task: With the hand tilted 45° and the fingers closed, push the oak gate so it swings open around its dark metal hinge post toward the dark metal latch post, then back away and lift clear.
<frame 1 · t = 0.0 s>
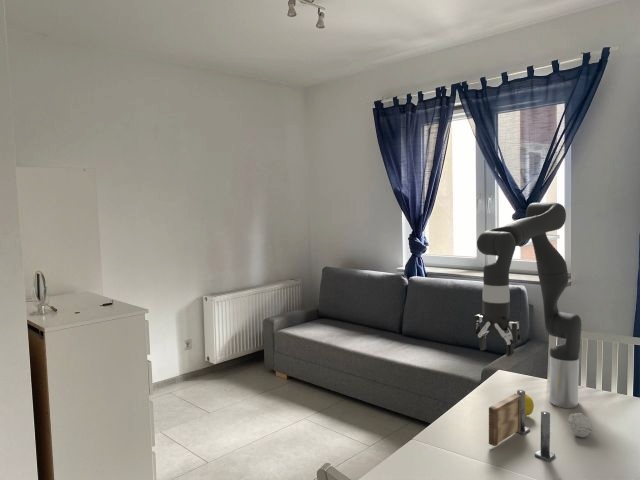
hand: (495, 352, 142), 29 cm above the table, tool pointing down, fingers open, 8 cm apart
gate: (505, 419, 147), point 7 cm above the table, hinge at 0.0°
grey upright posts: (520, 430, 154), on the table
lemon: (524, 417, 163), on the table
white lumpy piece: (579, 436, 149), on the table
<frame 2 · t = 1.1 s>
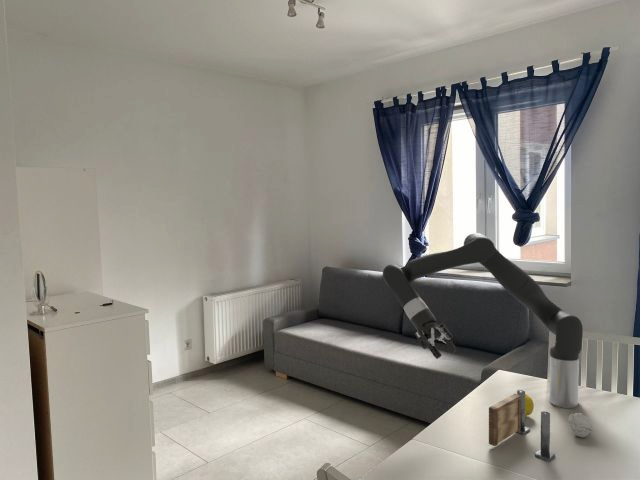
hand: (447, 354, 157), 24 cm above the table, tool tilted 45°, fingers open, 8 cm apart
nothing on the table moved.
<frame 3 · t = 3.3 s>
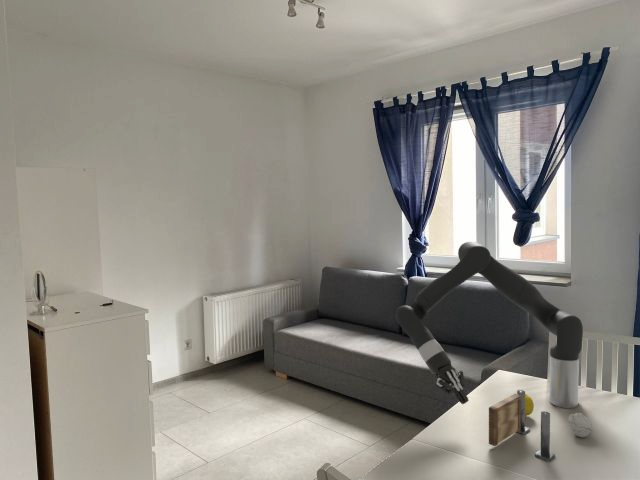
hand: (465, 402, 153), 10 cm above the table, tool tilted 45°, fingers closed
nothing on the table moved.
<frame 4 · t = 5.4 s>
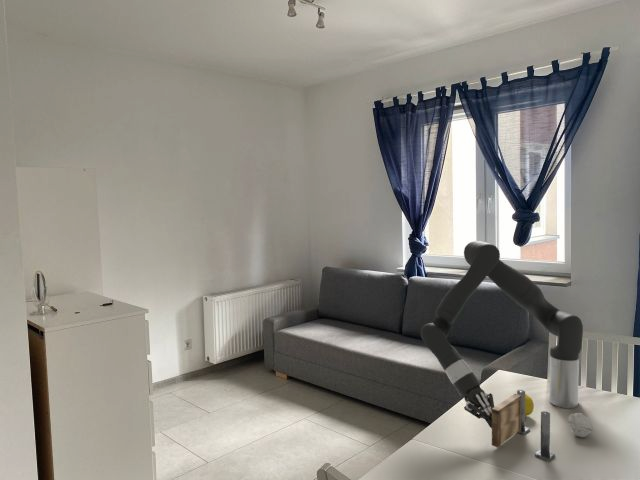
hand: (496, 427, 145), 5 cm above the table, tool tilted 45°, fingers closed
gate: (506, 419, 147), point 7 cm above the table, hinge at 3.5°, touching gripper
everything else where it was.
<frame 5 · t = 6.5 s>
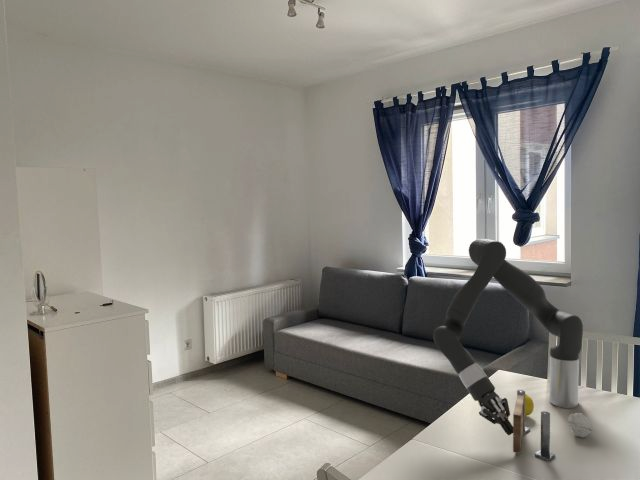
hand: (512, 433, 142), 5 cm above the table, tool tilted 45°, fingers closed
gate: (518, 422, 145), point 7 cm above the table, hinge at 24.7°, touching gripper
everything else where it was.
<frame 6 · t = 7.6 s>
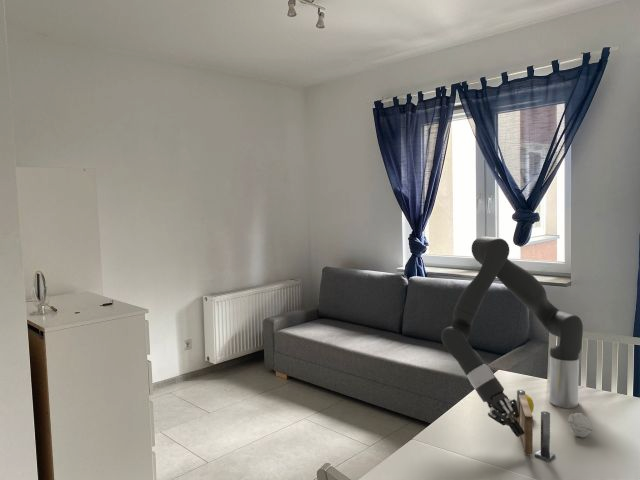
hand: (521, 435, 141), 5 cm above the table, tool tilted 45°, fingers closed
gate: (525, 423, 144), point 7 cm above the table, hinge at 35.3°, touching gripper
everything else where it was.
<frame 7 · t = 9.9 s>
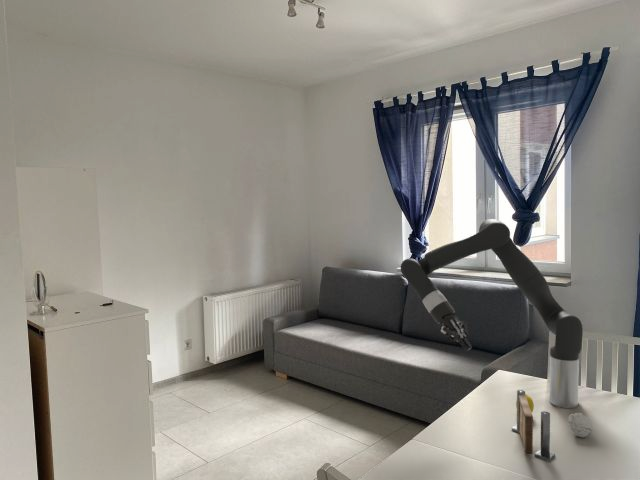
hand: (469, 349, 157), 26 cm above the table, tool tilted 45°, fingers closed
gate: (525, 423, 144), point 7 cm above the table, hinge at 35.5°
everything else where it was.
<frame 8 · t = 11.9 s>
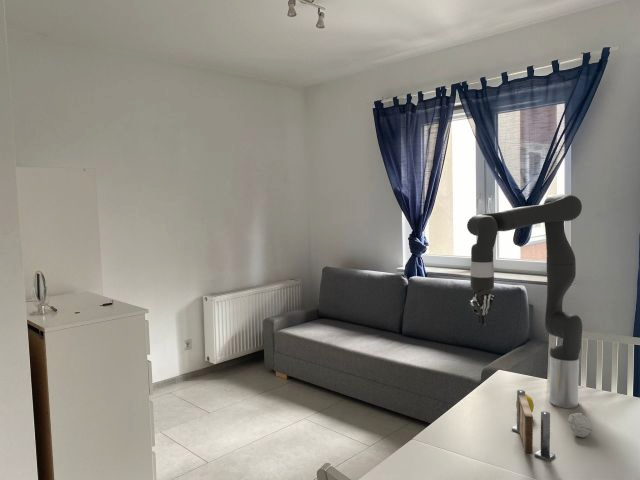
hand: (482, 325, 162), 32 cm above the table, tool pointing down, fingers closed
nothing on the table moved.
at the end: gate at +36° (first picture: +0°); lemon moved 0.2 cm from its start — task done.
